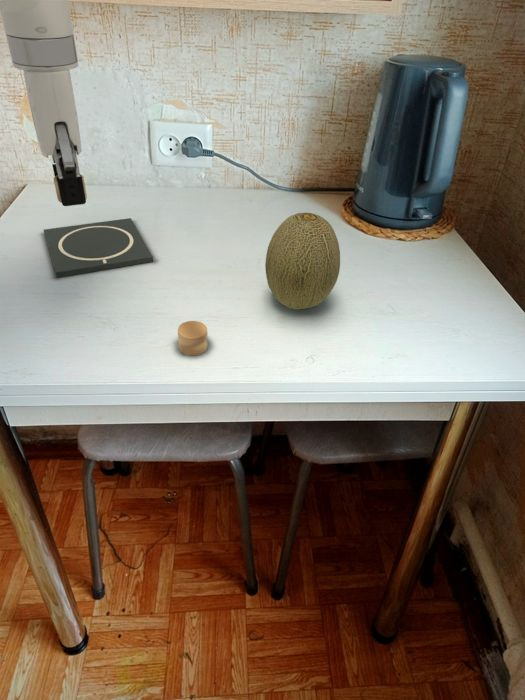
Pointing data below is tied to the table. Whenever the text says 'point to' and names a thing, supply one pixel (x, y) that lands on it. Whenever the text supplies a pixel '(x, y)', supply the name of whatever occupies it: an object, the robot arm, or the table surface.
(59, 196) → the tan cork puck
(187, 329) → the tan cork stopper
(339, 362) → the table surface
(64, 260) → the slate board
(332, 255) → the fruit
